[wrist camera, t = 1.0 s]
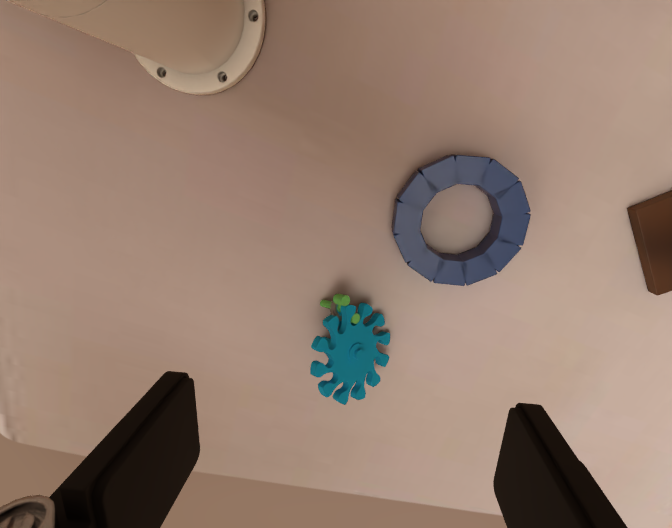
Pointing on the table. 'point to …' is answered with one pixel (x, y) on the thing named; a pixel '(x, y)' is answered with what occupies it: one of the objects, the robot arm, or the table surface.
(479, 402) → the table surface
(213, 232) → the table surface
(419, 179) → the ring
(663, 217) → the stand
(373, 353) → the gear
